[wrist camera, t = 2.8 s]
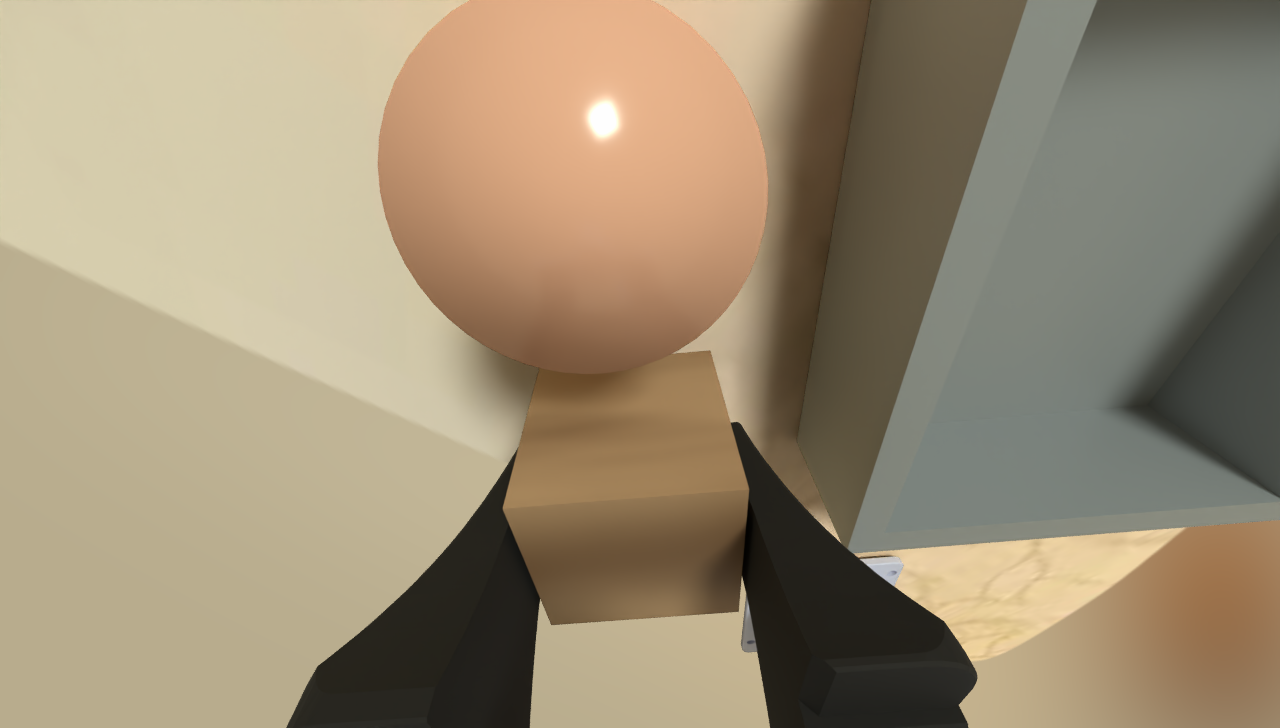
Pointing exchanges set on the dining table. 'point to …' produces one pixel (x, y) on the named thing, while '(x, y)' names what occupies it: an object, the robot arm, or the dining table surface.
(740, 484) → the walnut cube
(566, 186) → the terracotta cylinder
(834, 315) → the box
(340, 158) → the dining table surface
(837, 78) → the dining table surface
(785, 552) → the robot arm
